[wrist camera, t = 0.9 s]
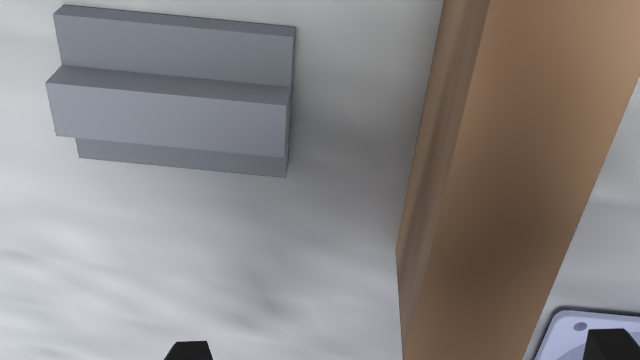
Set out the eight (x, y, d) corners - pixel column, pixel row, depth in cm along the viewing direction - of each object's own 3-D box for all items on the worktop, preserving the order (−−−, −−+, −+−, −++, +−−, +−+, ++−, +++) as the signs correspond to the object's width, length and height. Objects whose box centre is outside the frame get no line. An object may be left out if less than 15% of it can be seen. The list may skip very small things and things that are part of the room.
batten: (645, -256, 14) (777, -258, 10) (485, 255, 23) (515, 375, 19) (494, -269, 14) (556, -278, 10) (395, 247, 23) (403, 364, 19)
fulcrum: (295, 27, 18) (288, 54, 17) (288, 164, 21) (281, 198, 20) (63, 4, 18) (34, 29, 17) (87, 145, 21) (64, 178, 20)
